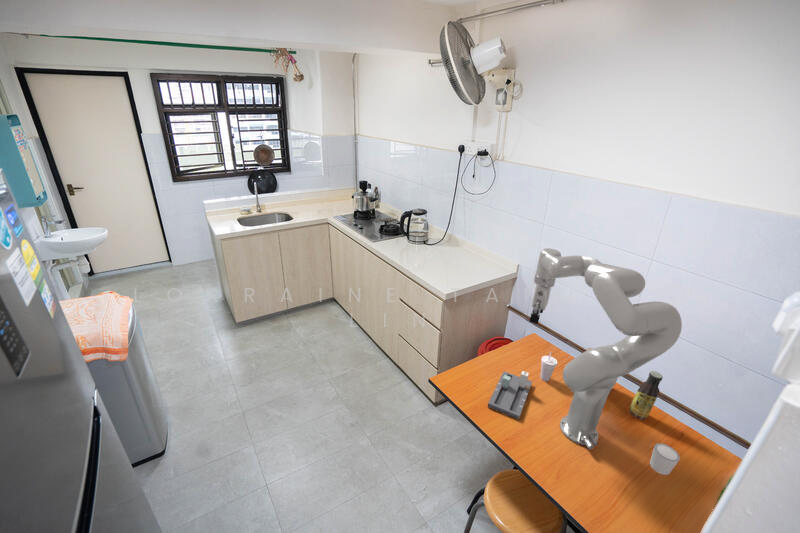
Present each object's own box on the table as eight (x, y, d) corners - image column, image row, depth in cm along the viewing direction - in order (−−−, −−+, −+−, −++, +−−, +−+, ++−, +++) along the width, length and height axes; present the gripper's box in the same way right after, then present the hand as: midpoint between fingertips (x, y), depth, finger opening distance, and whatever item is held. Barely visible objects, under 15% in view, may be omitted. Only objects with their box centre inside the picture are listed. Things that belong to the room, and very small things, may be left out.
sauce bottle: (628, 416, 139) (645, 375, 131) (628, 406, 144) (643, 366, 136) (648, 423, 136) (666, 382, 128) (647, 412, 141) (664, 372, 133)
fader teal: (507, 390, 147) (509, 380, 145) (500, 388, 148) (502, 378, 146) (508, 387, 149) (510, 377, 147) (502, 384, 150) (504, 374, 148)
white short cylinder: (649, 454, 124) (655, 439, 121) (673, 466, 120) (680, 451, 117) (646, 467, 119) (653, 452, 116) (671, 481, 115) (679, 465, 112)
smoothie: (533, 375, 158) (540, 349, 152) (544, 371, 161) (551, 345, 155) (544, 384, 153) (552, 358, 147) (556, 381, 155) (563, 354, 150)
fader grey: (524, 390, 147) (527, 376, 144) (517, 387, 149) (521, 373, 146) (525, 386, 149) (528, 372, 146) (519, 384, 151) (522, 370, 148)
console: (518, 420, 135) (519, 415, 134) (487, 406, 140) (488, 402, 139) (531, 385, 152) (532, 381, 151) (503, 374, 158) (503, 370, 157)
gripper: (551, 290, 133) (541, 330, 140) (558, 274, 147) (549, 311, 154) (530, 285, 136) (521, 324, 143) (539, 270, 150) (531, 305, 157)
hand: (536, 317), depth 148 cm, fingers open, 9 cm apart
